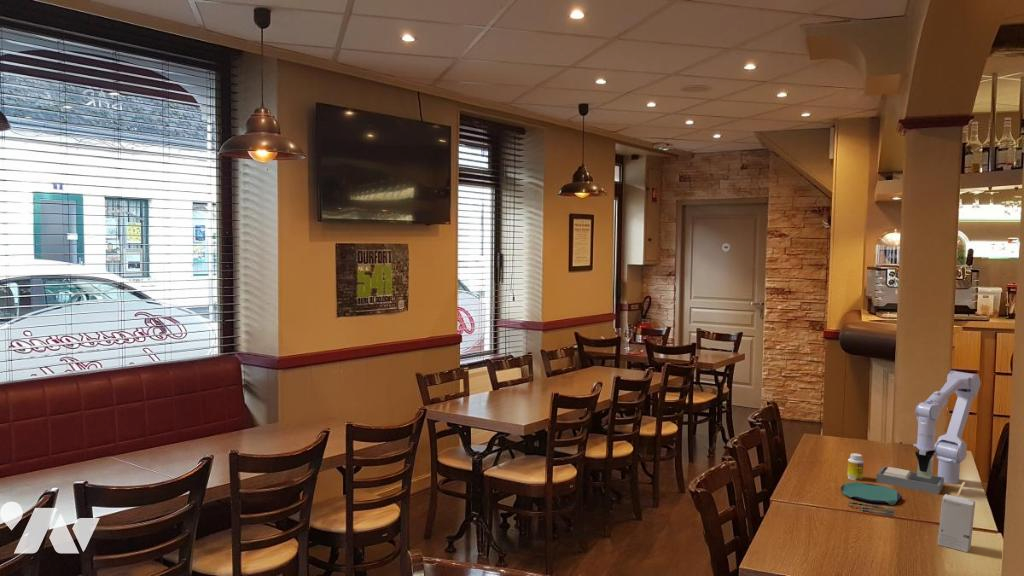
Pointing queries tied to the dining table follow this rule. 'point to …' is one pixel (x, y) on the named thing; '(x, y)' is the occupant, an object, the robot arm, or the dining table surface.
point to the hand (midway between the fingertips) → (924, 469)
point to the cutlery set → (871, 495)
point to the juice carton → (929, 471)
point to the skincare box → (956, 523)
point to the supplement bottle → (855, 467)
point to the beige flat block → (898, 473)
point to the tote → (912, 482)
